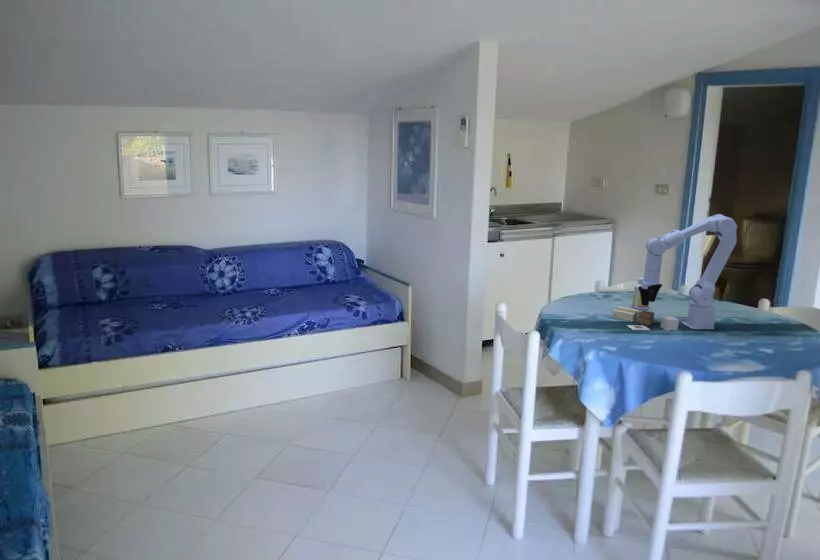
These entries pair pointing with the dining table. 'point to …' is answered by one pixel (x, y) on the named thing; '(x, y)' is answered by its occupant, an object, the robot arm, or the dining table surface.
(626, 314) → the birch base block
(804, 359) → the dining table surface
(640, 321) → the walnut block
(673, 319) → the grey block
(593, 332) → the dining table surface
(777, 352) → the dining table surface
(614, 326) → the dining table surface
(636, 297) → the supplement bottle
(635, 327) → the card
